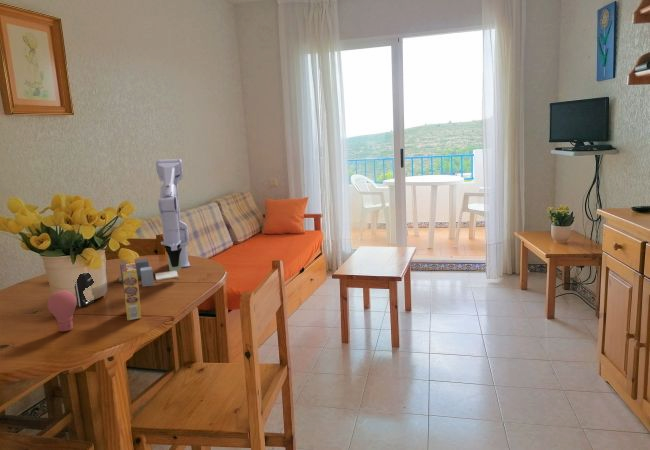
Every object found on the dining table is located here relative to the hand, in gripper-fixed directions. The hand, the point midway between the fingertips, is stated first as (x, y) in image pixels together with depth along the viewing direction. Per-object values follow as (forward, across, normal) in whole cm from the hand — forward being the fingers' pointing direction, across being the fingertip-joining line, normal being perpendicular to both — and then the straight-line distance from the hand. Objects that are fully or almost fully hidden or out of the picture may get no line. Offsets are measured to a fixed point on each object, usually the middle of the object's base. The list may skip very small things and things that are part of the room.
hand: (174, 265), depth 175 cm
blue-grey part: (+6, 0, -10) cm, 12 cm away
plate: (+6, -7, -3) cm, 10 cm away
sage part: (+2, 0, 0) cm, 2 cm away
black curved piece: (+6, +12, -29) cm, 32 cm away
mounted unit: (+6, -11, -14) cm, 19 cm away
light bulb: (+6, +34, -33) cm, 48 cm away
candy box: (+6, +30, -15) cm, 34 cm away
